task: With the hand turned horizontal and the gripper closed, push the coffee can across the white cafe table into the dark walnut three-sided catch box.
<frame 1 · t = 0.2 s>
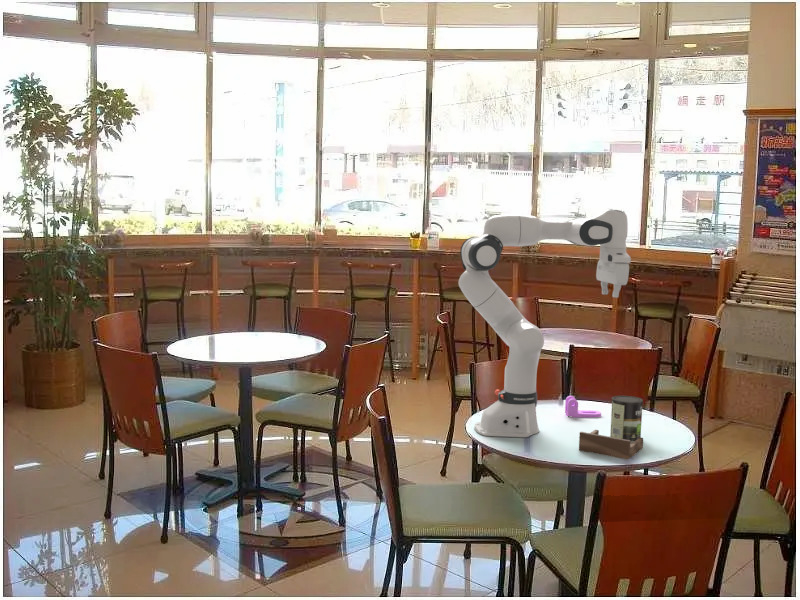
hand: (610, 295, 290), 48 cm above the table, tool pointing down, fingers open, 8 cm apart
coffee can: (625, 439, 284), on the table
catch box: (611, 449, 272), on the table
bracket: (583, 416, 314), on the table
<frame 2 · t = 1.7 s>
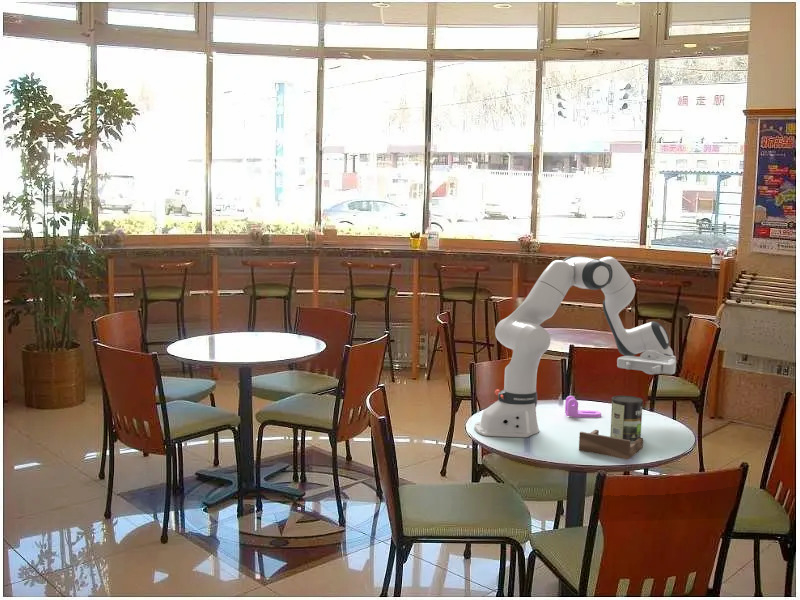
hand: (639, 368, 291), 22 cm above the table, tool horizontal, fingers open, 7 cm apart
nothing on the table moved.
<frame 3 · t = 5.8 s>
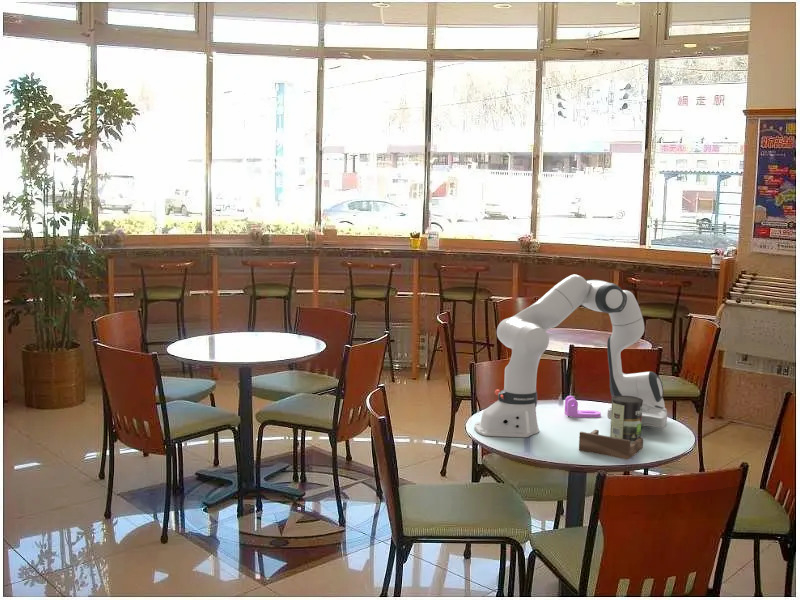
hand: (630, 421, 287), 5 cm above the table, tool horizontal, fingers closed
coffee can: (625, 439, 284), on the table, touching gripper
everything else where it was.
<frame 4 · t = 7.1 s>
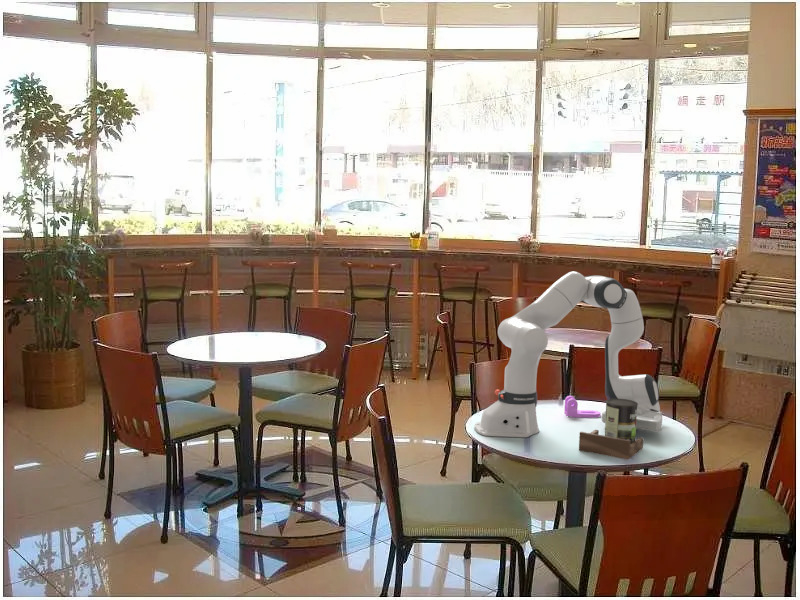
hand: (624, 425, 283), 5 cm above the table, tool horizontal, fingers closed, pressing on coffee can
coffee can: (619, 443, 279), on the table, touching gripper
everything else where it was.
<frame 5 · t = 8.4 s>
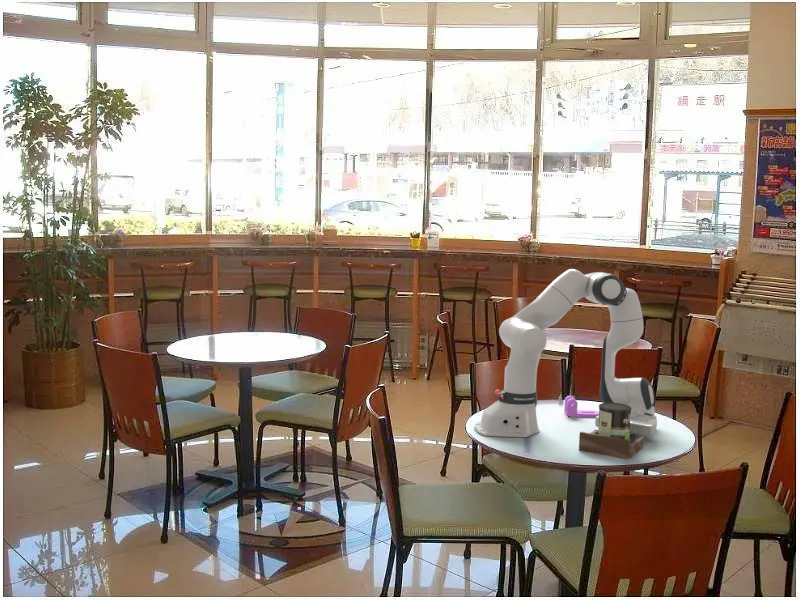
hand: (618, 429, 277), 5 cm above the table, tool horizontal, fingers closed, pressing on coffee can
coffee can: (612, 448, 273), on the table, touching gripper
everything else where it was.
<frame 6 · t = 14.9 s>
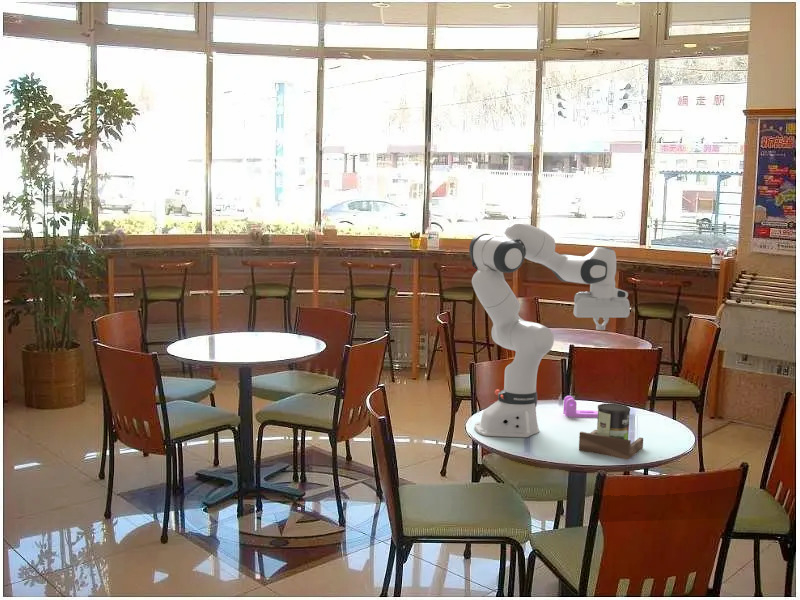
hand: (600, 329, 302), 34 cm above the table, tool pointing down, fingers closed
coffee can: (611, 449, 273), on the table
everything else where it was.
at the end: coffee can inside the target area on the catch box (0.3 cm from its centre), point 0.0 cm above the catch box's base; coffee can tilted 0°; bracket moved 0.7 cm from its start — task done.
